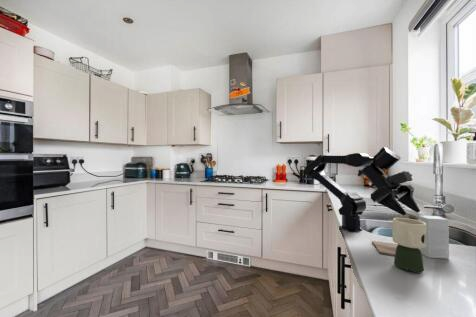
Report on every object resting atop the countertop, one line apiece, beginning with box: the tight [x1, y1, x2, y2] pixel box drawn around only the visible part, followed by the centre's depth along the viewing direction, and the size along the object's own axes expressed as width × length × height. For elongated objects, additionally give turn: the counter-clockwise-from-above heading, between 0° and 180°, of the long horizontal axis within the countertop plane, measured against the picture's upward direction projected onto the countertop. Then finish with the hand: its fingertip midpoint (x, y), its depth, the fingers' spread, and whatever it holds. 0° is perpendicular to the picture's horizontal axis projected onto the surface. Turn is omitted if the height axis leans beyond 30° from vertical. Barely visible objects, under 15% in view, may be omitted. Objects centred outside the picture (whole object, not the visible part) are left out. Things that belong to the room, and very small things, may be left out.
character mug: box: [392, 217, 426, 273], centre depth 57 cm, size 11×7×13 cm, turn 146°
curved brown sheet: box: [371, 240, 398, 257], centre depth 69 cm, size 10×8×1 cm
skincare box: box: [417, 215, 450, 259], centre depth 65 cm, size 6×4×12 cm
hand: (412, 213), depth 70 cm, fingers open, 9 cm apart
